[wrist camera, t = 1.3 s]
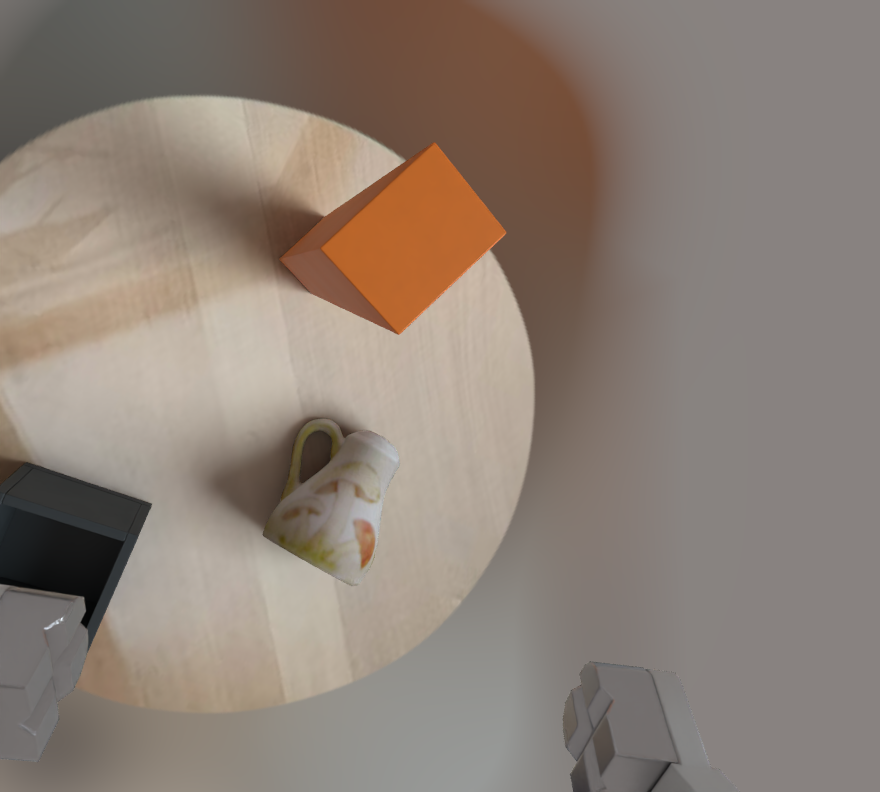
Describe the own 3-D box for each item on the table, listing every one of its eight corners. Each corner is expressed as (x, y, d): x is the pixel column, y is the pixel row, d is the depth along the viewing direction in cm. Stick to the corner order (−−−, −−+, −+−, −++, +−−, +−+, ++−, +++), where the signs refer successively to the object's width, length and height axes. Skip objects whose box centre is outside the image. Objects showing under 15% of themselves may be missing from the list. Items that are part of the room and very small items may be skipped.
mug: (422, 443, 49) (437, 559, 41) (328, 511, 52) (325, 629, 45) (345, 386, 45) (345, 503, 37) (248, 464, 48) (230, 586, 41)
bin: (-22, 574, 43) (-61, 618, 37) (26, 461, 42) (-7, 489, 37) (105, 609, 45) (85, 656, 40) (152, 503, 44) (138, 536, 39)
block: (278, 258, 44) (319, 248, 17) (324, 216, 44) (434, 140, 17) (312, 294, 45) (398, 335, 18) (356, 252, 45) (507, 232, 18)
